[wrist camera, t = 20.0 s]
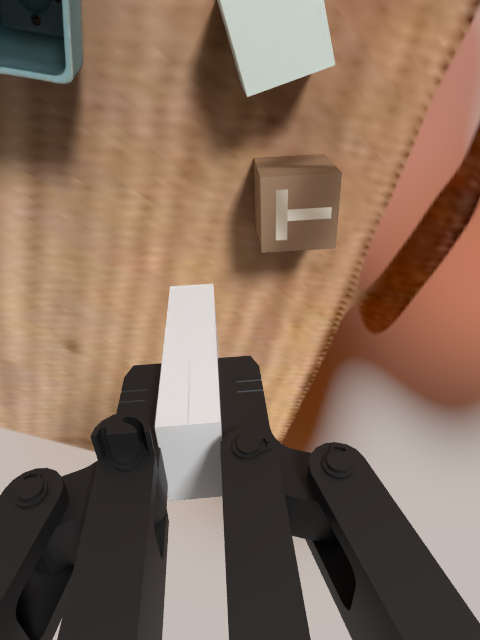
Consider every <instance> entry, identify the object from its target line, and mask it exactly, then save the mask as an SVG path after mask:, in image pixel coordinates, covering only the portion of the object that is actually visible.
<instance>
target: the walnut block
mask: <svg viewBox="0 0 480 640" xmlns="http://www.w3.org/2000/svg"><path fill="white" fill-rule="evenodd" d="M341 175H342V173H341V171H340V170H339V169H338V168H337V167H336V166H335V165H334V164H333V163H332V162H331V161H330V160H329V159H328V157H327V156H326V155H325V154H319V155H301V156H284V157H266V158H254V188H255V226H256V231H257V235H258V239H259V244H260V248H261V252H262V253H267V252H283V251H300V250H316V249H332V248H336V237H337V224H338V212H339V200H340V187H341Z"/></svg>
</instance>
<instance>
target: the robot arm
mask: <svg viewBox="0 0 480 640" xmlns="http://www.w3.org/2000/svg"><path fill="white" fill-rule="evenodd" d="M91 440H92V443H93V446H94V449H95V452H96V455H97V458H98V461H96V462H95V463H93V464H92V465H90V466H88V467H86V468H84V469H81V470H79V471H76V472H73V473H71V474H68V475H65V476H62V477H61V476H60V475H59V474H58V472H57V471H55V470H52V469H48V468H39V469H34V470H31V471H28V472H25V473H23V474H21V475H20V476H18V477H17V478H15V479H14V480H13V481H12V482H11V483H10V484H9V485H8V486H7V487H6V488H5V489H4V491H3V492H2V494H1V495H0V640H52V639H53V637H54V635H55V632H56V630H57V628H58V625H59V623H60V621H61V619H62V621H61V626H60V630H59V634H58V639H57V640H162V629H163V613H164V595H165V577H166V561H167V560H166V559H167V544H168V527H169V520H168V514H167V509H166V506H167V492H168V497H169V501H174V500H186V499H197V498H208V497H220V496H222V497H223V519H224V538H225V539H224V540H225V562H226V584H227V605H228V625H229V640H311V639H310V634H309V628H308V622H307V617H306V611H305V606H304V600H303V595H302V589H301V583H300V578H299V572H298V567H297V562H296V556H295V550H294V545H293V539H292V536H296V537H300V538H304V539H306V541H307V544H308V546H309V548H310V550H311V552H312V555H313V557H314V559H315V561H316V563H317V565H318V567H319V569H320V571H321V574H322V576H323V578H324V580H325V582H326V584H327V587H328V589H329V591H330V593H331V595H332V597H333V599H334V601H335V604H336V606H337V608H338V610H339V612H340V614H341V616H342V619H343V621H344V623H345V625H346V627H347V629H348V631H349V633H350V636H351V638H352V640H480V623H479V622H478V620H477V619H476V617H475V616H474V615H473V613H472V612H471V611H470V609H469V607H468V606H467V604H466V603H465V602H464V600H463V599H462V597H461V596H460V594H459V593H458V592H457V590H456V589H455V587H454V586H453V585H452V583H451V581H450V580H449V579H448V577H447V576H446V574H445V573H444V571H443V570H442V569H441V567H440V566H439V564H438V563H437V561H436V560H435V558H434V557H433V556H432V554H431V553H430V551H429V550H428V548H427V547H426V546H425V544H424V543H423V541H422V540H421V538H420V537H419V535H418V534H417V533H416V531H415V530H414V528H413V527H412V525H411V524H410V523H409V521H408V520H407V518H406V517H405V515H404V514H403V512H402V511H401V510H400V508H399V507H398V505H397V504H396V503H395V501H394V500H393V498H392V497H391V496H390V494H389V492H388V491H387V489H386V488H385V487H384V485H383V484H382V482H381V481H380V480H379V478H378V477H377V475H376V474H375V472H374V471H373V469H372V468H371V466H370V465H369V464H368V462H367V461H366V459H365V458H364V457H363V456H362V455H361V454H360V453H359V452H358V451H357V450H356V449H354V448H352V447H351V446H349V445H347V444H342V443H336V442H333V443H325V444H323V445H321V446H319V447H317V448H316V449H315V450H314V451H313V452H312V453H309V452H303V451H299V450H295V449H291V448H288V447H286V446H285V445H283V444H281V443H280V442H279V441H278V440H276V438H275V437H274V436H273V434H272V432H271V429H270V426H269V420H268V414H267V409H266V403H265V397H264V391H263V386H262V381H261V374H260V369H259V365H258V364H257V363H256V362H255V361H254V360H253V358H252V357H251V356H241V357H227V358H219V355H218V340H217V327H216V314H215V301H214V288H213V284H201V285H186V286H171V287H170V294H169V303H168V312H167V321H166V330H165V339H164V348H163V357H162V363H161V364H148V365H135V366H133V367H132V368H131V370H130V371H129V372H128V373H127V375H126V376H125V377H124V381H123V386H122V393H121V395H120V400H119V404H118V409H117V414H116V415H112V416H110V417H109V418H107V419H105V420H103V421H102V422H101V423H100V424H98V425H97V426H96V427H95V429H94V431H93V432H92V434H91Z"/></svg>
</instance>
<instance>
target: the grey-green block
mask: <svg viewBox="0 0 480 640" xmlns="http://www.w3.org/2000/svg"><path fill="white" fill-rule="evenodd" d="M217 1H218V5H219V8H220V12H221V15H222V19H223V22H224V26H225V30H226V33H227V37H228V40H229V44H230V47H231V51H232V54H233V58H234V61H235V65H236V68H237V72H238V75H239V79H240V82H241V86H242V88H243V90H244V92H245V94H246V96H247V97H249V96H252V95H255V94H258V93H260V92H263V91H266V90H268V89H271V88H274V87H277V86H279V85H282V84H285V83H288V82H290V81H293V80H296V79H299V78H301V77H304V76H307V75H310V74H312V73H315V72H318V71H320V70H323V69H326V68H329V67H331V66H334V65H335V61H334V55H333V50H332V44H331V38H330V33H329V27H328V21H327V16H326V10H325V4H324V0H217Z"/></svg>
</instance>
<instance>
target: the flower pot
mask: <svg viewBox="0 0 480 640" xmlns="http://www.w3.org/2000/svg"><path fill="white" fill-rule="evenodd" d="M34 16H38V17H39V18H40V20H41V23H40V24H39V25H36V24H35V23H34V21H33V18H34ZM82 63H83V44H82V20H81V0H62V1H61V2H59V1H57V0H0V74H5V75H12V76H17V77H25V78H30V79H36V80H41V81H47V82H52V83H57V84H68V83H70V82H71V81H72V80H73V79H74V77H75V76H76V74H77V73H78V72H79V70H80V68H81V66H82Z"/></svg>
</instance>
